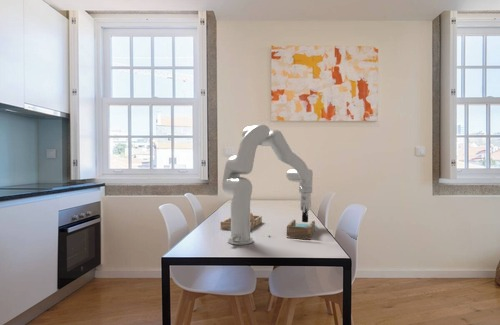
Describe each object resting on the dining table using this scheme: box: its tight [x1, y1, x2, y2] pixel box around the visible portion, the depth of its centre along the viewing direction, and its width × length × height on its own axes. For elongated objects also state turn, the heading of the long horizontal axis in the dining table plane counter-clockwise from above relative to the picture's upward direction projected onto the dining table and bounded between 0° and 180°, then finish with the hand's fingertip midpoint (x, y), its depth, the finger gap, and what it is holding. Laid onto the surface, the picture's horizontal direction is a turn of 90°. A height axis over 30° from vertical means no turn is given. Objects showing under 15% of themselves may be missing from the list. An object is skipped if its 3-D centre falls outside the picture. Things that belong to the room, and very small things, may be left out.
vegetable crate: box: [220, 215, 263, 231], centre depth 185 cm, size 26×17×4 cm, turn 161°
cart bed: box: [286, 219, 316, 241], centre depth 162 cm, size 18×12×6 cm
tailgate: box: [296, 223, 318, 230], centre depth 174 cm, size 1×12×8 cm
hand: (305, 221), depth 175 cm, fingers closed
